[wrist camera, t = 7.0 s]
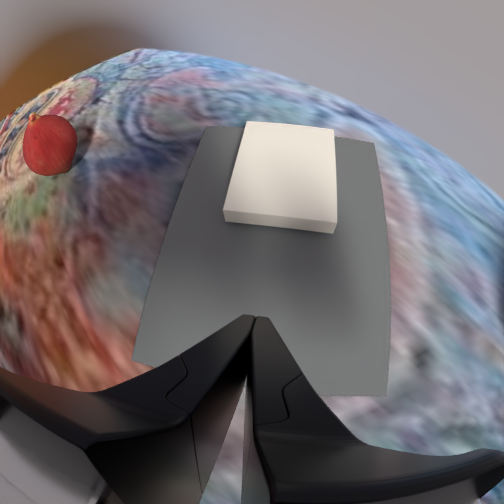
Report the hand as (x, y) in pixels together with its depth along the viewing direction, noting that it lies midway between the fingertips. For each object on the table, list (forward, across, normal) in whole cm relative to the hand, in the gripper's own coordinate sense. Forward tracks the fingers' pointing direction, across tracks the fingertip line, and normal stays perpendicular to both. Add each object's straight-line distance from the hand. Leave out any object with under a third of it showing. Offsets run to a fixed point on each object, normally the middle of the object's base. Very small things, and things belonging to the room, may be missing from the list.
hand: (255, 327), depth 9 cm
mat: (+11, 0, -1) cm, 11 cm away
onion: (+14, +22, -4) cm, 26 cm away
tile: (+13, 0, -5) cm, 14 cm away
